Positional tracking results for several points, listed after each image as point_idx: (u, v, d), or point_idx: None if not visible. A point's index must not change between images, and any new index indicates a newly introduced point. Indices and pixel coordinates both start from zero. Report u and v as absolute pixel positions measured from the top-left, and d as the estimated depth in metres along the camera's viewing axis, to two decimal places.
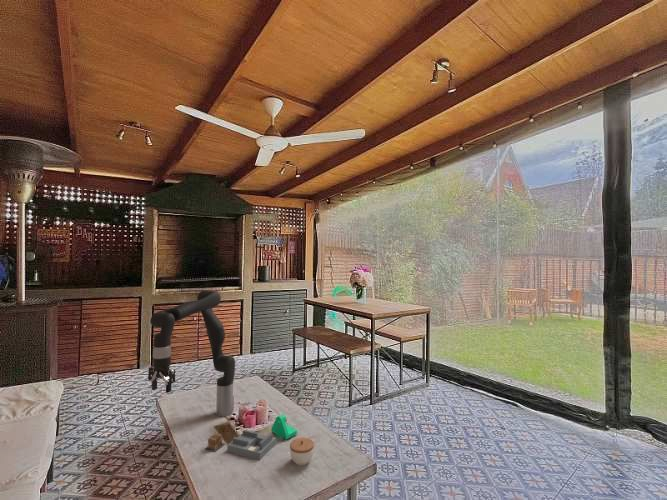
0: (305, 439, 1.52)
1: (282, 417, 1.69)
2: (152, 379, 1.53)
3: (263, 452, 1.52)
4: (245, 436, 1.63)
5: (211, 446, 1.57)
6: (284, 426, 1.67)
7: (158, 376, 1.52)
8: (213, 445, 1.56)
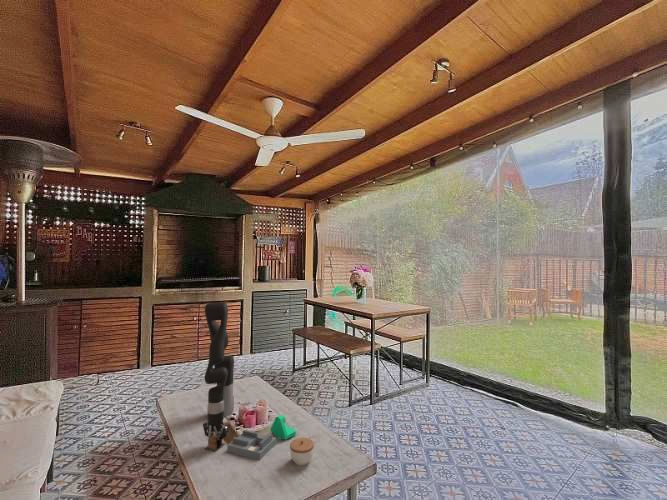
0: (305, 439, 1.52)
1: (281, 417, 1.69)
2: (209, 435, 1.59)
3: (263, 452, 1.52)
4: (245, 436, 1.63)
5: (211, 446, 1.57)
6: (283, 426, 1.67)
7: (213, 429, 1.58)
8: (213, 445, 1.56)
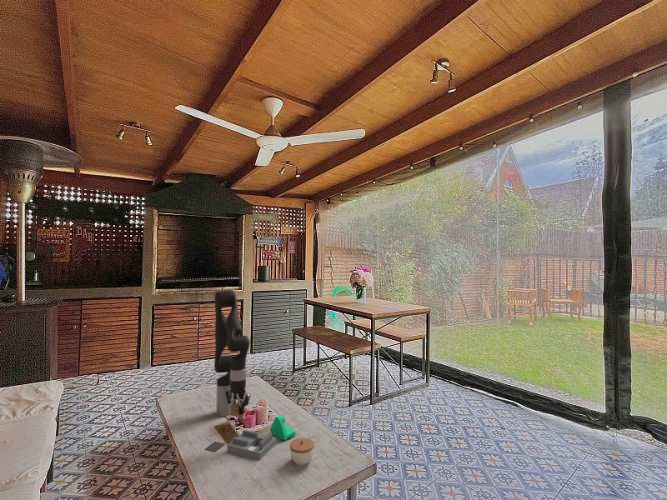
0: (305, 439, 1.52)
1: (281, 418, 1.68)
2: (231, 402, 1.60)
3: (263, 452, 1.52)
4: (245, 436, 1.63)
5: (233, 413, 1.58)
6: (282, 427, 1.66)
7: (236, 397, 1.60)
8: (235, 412, 1.57)
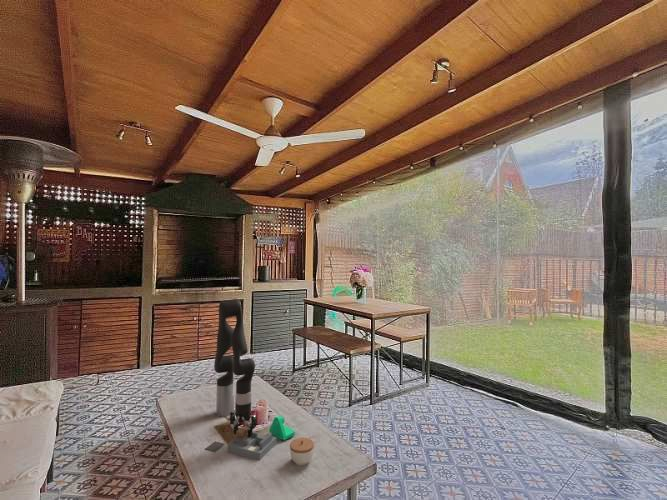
0: (305, 439, 1.52)
1: (280, 418, 1.68)
2: (234, 424, 1.61)
3: (263, 452, 1.52)
4: None
5: None
6: (282, 427, 1.66)
7: (240, 420, 1.60)
8: (241, 437, 1.58)
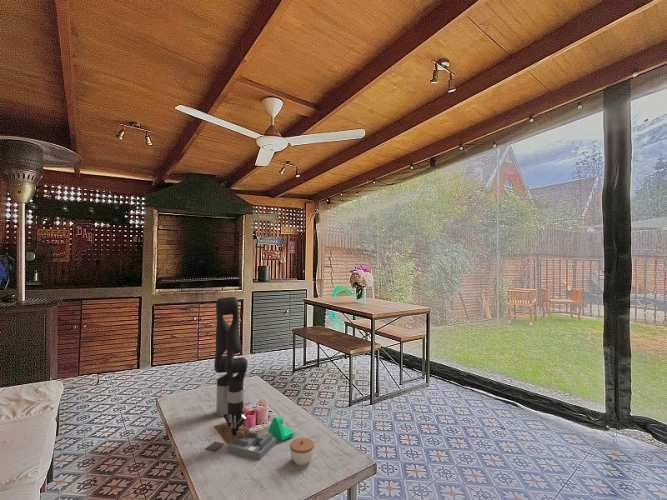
0: (305, 439, 1.52)
1: (279, 418, 1.68)
2: (231, 425, 1.61)
3: (263, 452, 1.52)
4: None
5: None
6: (280, 428, 1.65)
7: None
8: (241, 437, 1.58)
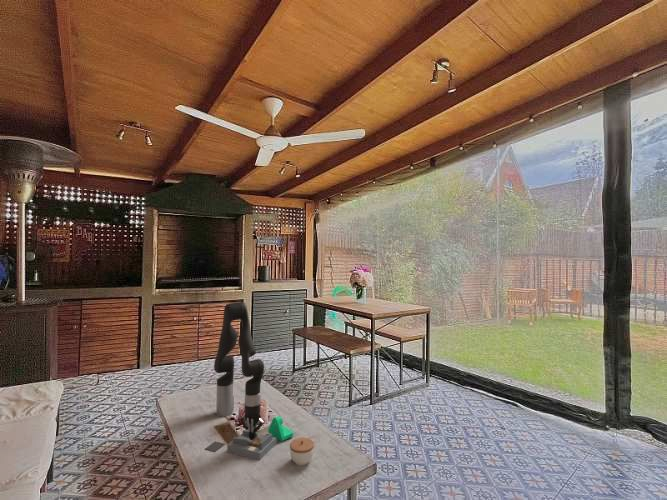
0: (305, 439, 1.52)
1: (278, 418, 1.68)
2: (249, 428, 1.58)
3: (263, 452, 1.52)
4: (245, 436, 1.63)
5: (252, 446, 1.56)
6: (280, 428, 1.65)
7: None
8: None
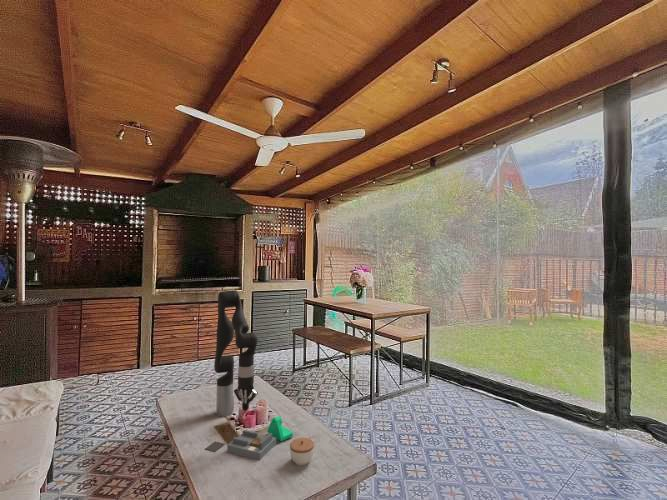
0: (305, 439, 1.52)
1: (278, 419, 1.67)
2: (242, 400, 1.60)
3: (263, 452, 1.52)
4: (245, 436, 1.63)
5: (252, 446, 1.56)
6: (279, 428, 1.65)
7: None
8: None
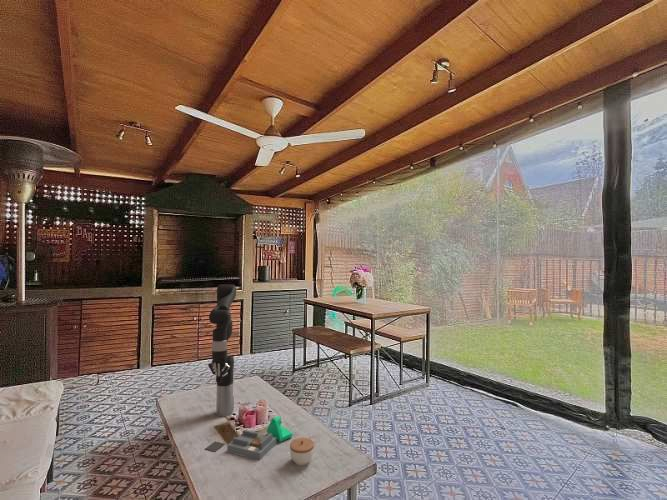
0: (305, 439, 1.52)
1: (277, 419, 1.67)
2: (216, 373, 1.69)
3: (263, 452, 1.52)
4: (245, 436, 1.63)
5: (252, 446, 1.56)
6: (278, 428, 1.65)
7: None
8: None
